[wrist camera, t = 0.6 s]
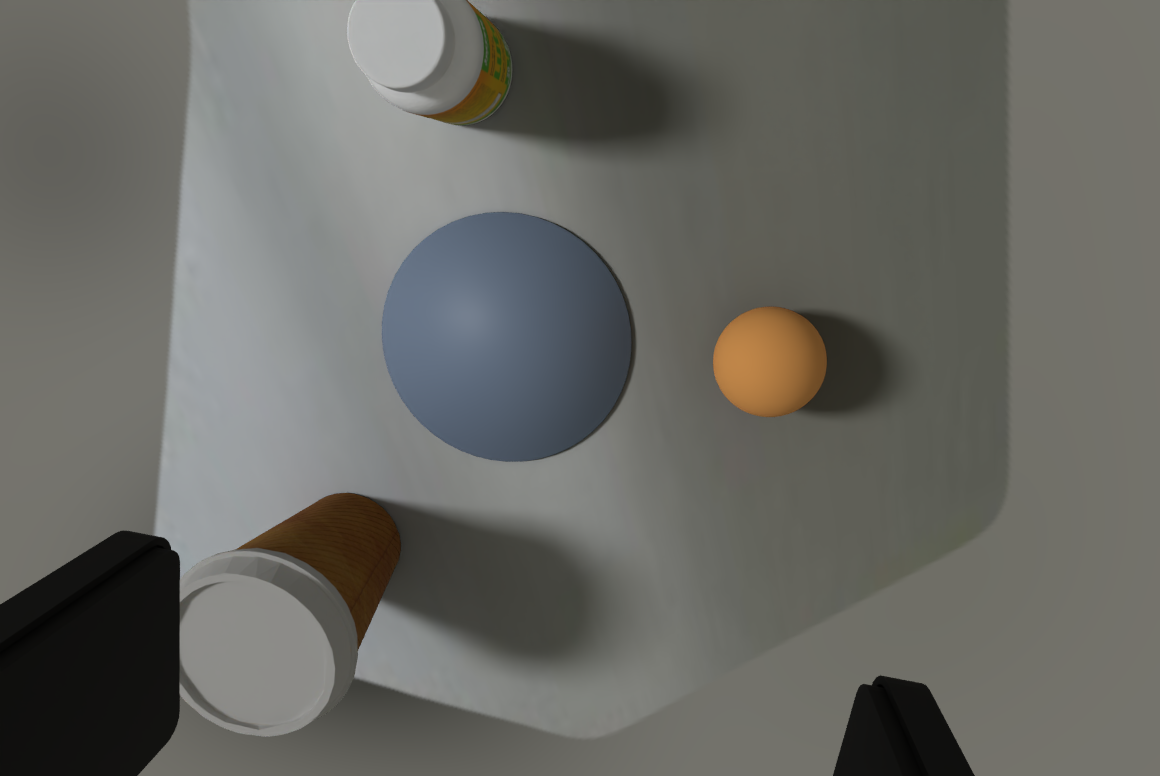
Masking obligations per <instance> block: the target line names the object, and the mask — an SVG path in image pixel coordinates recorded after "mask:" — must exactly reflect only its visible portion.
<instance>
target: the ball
mask: <svg viewBox="0 0 1160 776" xmlns="http://www.w3.org/2000/svg"><path fill="white" fill-rule="evenodd" d="M713 368H714V374H715V378H716V381H717V383H718V385H719V387H720V389H721V391H722V392H723V394H724V395H725V396H726V398H727V399H728V400H729V401H730V402H731V403H732V404H734V405H735V406H737V407H738V408H739V409H741V410H743V411H745V412H747V413H750V414H753V415H757V416H762V417H776V416H782V415H786V414H789V413H792V412H794V411H796V410H798V409H800V408H801V407H803V406H804V405H806V404H807V403H808V402H809V401H810V400H811V399H812V398H813V397H814V396H815V394H816V393H817V392H818V390H819V389H820V387H821V385H822V383H823V380H824V377H825V374H826V368H827V355H826V349H825V345H824V343H823V340H822V338H821V336H820V335H819V333H818V331H817V330H816V328H815V327H814V326H813V325H812V324H811V323H810V322H809V321H808V320H807V319H806V318H804V317H803V316H801V315H799V314H798V313H796V312H794V311H791V310H788V309H785V308H781V307H761V308H756V309H753V310H750V311H747V312H745V313H743V314H741V315H740V316H738V317H737V318H735V319H734V320H733V321H732V322H731V323H730V324H729V325H728V326H727V327H726V328H725V329H724V331H723V332H722V334H721V335H720V337H719V339H718V341H717V344H716V347H715V351H714V357H713Z"/></svg>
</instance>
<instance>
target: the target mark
mask: <svg viewBox="0 0 1160 776" xmlns="http://www.w3.org/2000/svg"><path fill="white" fill-rule="evenodd" d="M382 342H383V350H384V356H385V360H386V364H387V368H388V371H389V374H390V376H391V379H392V381H393V384H394V386H395V388H396V390H397V392H398V393H399V395H400V397H401V399H402V400H403V402H404V403H405V405H406V406H407V407H408V409H409V410H410V412H411V413H412V414H413V415H414V416H415V417H416V418H417V419H418V421H419V422H420V423H421V424H422V425H423V426H425V427H426V428H427V429H428V430H429V431H430V432H431V433H433V434H434V435H435V436H437V437H438V438H440V439H441V440H443V441H444V442H446V443H447V444H449V445H451V446H453V447H455V448H457V449H459V450H461V451H463V452H466V453H469V454H471V455H474V456H477V457H482V458H486V459H490V460H498V461H528V460H535V459H540V458H543V457H547V456H551V455H554V454H556V453H558V452H561V451H563V450H566V449H568V448H569V447H571V446H573V445H574V444H576V443H578V442H580V441H581V440H582V439H584V438H585V437H586V436H587V435H589V434H590V433H591V432H592V431H593V430H594V429H595V428H596V427H597V426H598V425H599V424H600V423H601V422H602V421H603V420H604V419H605V417H606V416H607V415H608V413H609V412H610V411H611V409H612V408H613V406H614V404H615V403H616V401H617V399H618V397H619V395H620V393H621V391H622V388H623V385H624V383H625V380H626V377H627V373H628V368H629V364H630V356H631V327H630V321H629V316H628V311H627V308H626V305H625V302H624V298H623V296H622V293H621V291H620V289H619V287H618V285H617V283H616V281H615V279H614V277H613V276H612V274H611V273H610V271H609V270H608V268H607V266H606V265H605V264H604V263H603V262H602V260H601V259H600V258H599V257H598V256H597V254H596V253H595V252H594V251H593V250H592V249H590V248H589V247H588V246H587V245H586V244H585V243H584V242H583V241H582V240H580V239H579V238H577V237H576V236H575V235H573V234H572V233H570V232H569V231H567V230H565V229H563V228H561V227H559V226H558V225H556V224H554V223H551V222H549V221H546V220H543V219H540V218H538V217H534V216H529V215H525V214H520V213H509V212H494V213H483V214H478V215H473V216H468V217H465V218H462V219H459V220H457V221H454V222H451V223H450V224H448V225H446V226H444V227H442V228H440V229H438V230H437V231H435V232H434V233H432V234H431V235H429V236H428V237H427V238H425V239H424V240H423V241H422V242H421V243H420V244H419V245H418V246H417V247H415V248H414V249H413V250H412V252H411V253H410V254H409V255H408V257H407V258H406V259H405V260H404V262H403V263H402V265H401V266H400V268H399V270H398V271H397V273H396V275H395V277H394V279H393V281H392V284H391V286H390V288H389V291H388V294H387V298H386V302H385V305H384V312H383V319H382Z"/></svg>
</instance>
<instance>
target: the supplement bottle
mask: <svg viewBox="0 0 1160 776" xmlns="http://www.w3.org/2000/svg"><path fill="white" fill-rule="evenodd" d="M347 37H348V43H349V47H350V50H351V53H352V56H353V58H354V60H355V62H356V63H357V65H358V66H359V68H360V69H361V70H362V72H363V73H364V74H365V75H366V76H367V78H368V80H369V82H370V83H371V85H372V86H373V88H374V89H375V90H376V91H377V92H378V93H379V94H380V95H381V96H382V97H383V98H384V99H385V100H386V101H388V102H389V103H391V104H392V105H394V106H396V107H398V108H400V109H402V110H404V111H406V112H409V113H413V114H416V115H420V116H424V117H427V118H432V119H435V120H438V121H442V122H445V123H449V124H454V125H470V124H474V123H477V122H480V121H482V120H484V119H486V118H488V117H489V116H491V115H492V114H493V113H494V112H495V111H496V110H497V109H498V108H499V107H500V106H501V104H502V103H503V101H504V100H505V98H506V96H507V94H508V92H509V89H510V85H511V81H512V59H511V54H510V51H509V48H508V45H507V43H506V41H505V39H504V37H503V36H502V34H501V33H500V32H499V30H498V29H497V28H496V27H495V26H494V24H492V23H491V22H490V21H489V20H488V19H487V18H486V17H485V16H484V15H483V14H482V13H481V12H479V11H478V10H477V9H476V8H475V7H474V6H473V5H472V4H471V3H469V2H468V1H467V0H355V2H354V4H353V6H352V9H351V11H350V14H349V18H348V25H347Z"/></svg>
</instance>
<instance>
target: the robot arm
mask: <svg viewBox="0 0 1160 776" xmlns="http://www.w3.org/2000/svg"><path fill="white" fill-rule="evenodd" d="M179 709H180V560H179V556H178V554H177V552H175V551H173V550H171V546H170V544H169V542H168V541H167V540H166V539H165V538H162V537H157V536H152V535H146V534H141V533H136V532H131V531H120V532H117V533H115V534H113V535H112V536H110V537H108V538H107V539H105V540H104V541H102V542H101V543H99V544H97V545H96V546H94V547H92V548H91V549H89V550H88V551H86V552H84V553H83V554H81V555H79V556H78V557H76V558H75V559H73V560H72V561H70V562H68V563H67V564H65V565H64V566H62V567H60V568H59V569H57V570H56V571H54V572H52V573H51V574H49V575H47V576H46V577H44V578H42V579H41V580H39V581H38V582H36V583H34V584H33V585H31V586H30V587H28V588H26V589H25V590H23V591H21V592H20V593H18V594H17V595H15V596H14V597H12V598H10V599H9V600H7V601H5V602H4V603H2V604H0V776H137V775H138V774H139V773H140V772H141V771H142V770H143V769H144V768H145V766H147V764H148V763H149V762H150V761H151V760H152V759H153V758H154V757H155V756H156V755H157V753H158V752H159V751H160V750H161V749H162V748H163V747H164V746H165V745H166V743H167V742H168V741H169V739H170V738H171V736H172V734H173V733H174V731H175V728H176V726H177V722H178V719H179V711H180V710H179ZM833 776H975V775H974V774H973V772H972V770H971V768H970V766H969V764H968V762H967V760H966V759H965V756H964V755H963V753H962V751H961V749H960V747H959V745H958V743H957V741H956V739H955V738H954V736H953V734H952V732H951V730H950V728H949V726H948V724H947V722H946V720H945V719H944V716H943V715H942V713H941V711H940V709H939V707H938V705H937V703H936V701H935V699H934V697H933V695H932V694H931V692H930V690H929V689H928V687H927V686H926V685H924V684H922V683H916V682H912V681H906V680H901V679H896V678H891V677H885V676H878V677H877V678H876V679H875V680H874V681H873V684H872V685H866V684H862V685H860V687H859V688H858V691H857V693H856V697H855V700H854V704H853V707H852V711H851V714H850V718H849V721H848V725H847V728H846V732H845V735H844V739H843V742H842V746H841V750H840V753H839V756H838V760H837V763H836V767H835V770H834V774H833Z"/></svg>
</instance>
